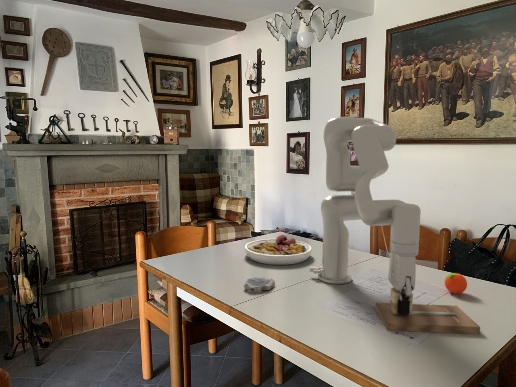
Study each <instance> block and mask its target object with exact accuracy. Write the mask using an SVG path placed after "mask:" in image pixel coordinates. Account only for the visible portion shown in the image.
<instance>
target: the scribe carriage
mask: <svg viewBox="0 0 516 387" xmlns="http://www.w3.org/2000/svg"><path fill="white" fill-rule="evenodd" d="M402 289H403V288H402ZM403 293H405V292H402V295H403ZM389 295H390V296H389V298H390V299H389V303H390V309H391V311H392V312H393V314H398V313H397V305H398V299H399V291H398V290H396V289H395V288H393V287H391V288H390V294H389ZM413 300H414V293H413V292H412V296H411V297H410V311H409V314H412V304H413Z"/></svg>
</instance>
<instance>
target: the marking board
mask: <svg viewBox="0 0 516 387" xmlns="http://www.w3.org/2000/svg"><path fill="white" fill-rule="evenodd" d="M375 311H376V313H377V314H378V316H379V318H380V320H381V321H382V323H383V325H384V327H385V329H386V330H387V331H389V332H390V331H395V332H397V331H399V332H417V333H418V332H419V333H420V332H421V333H439V334H440V333H443V334H447V333H448V334H466V335H471V334H472V335H480V333H481V326H479V324H478V323H476V321H474V320H473V319H472V318H471V317H470V316H469V315H468V314H467V313H465V312H464V310H462V309H461V308H460V307H459V306H458V305H448V304H447V305H446V304H445V305H444V304H421V303H419V304H417V303H412V314H393V312H392V311H391V309H390V302H389V303H387V302H375Z"/></svg>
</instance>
